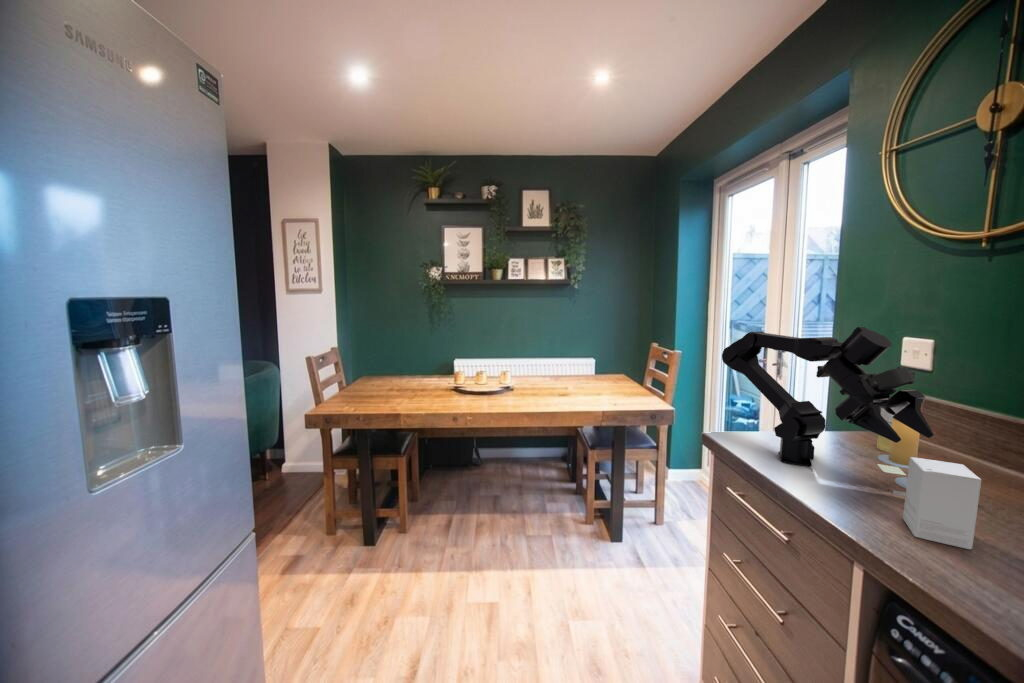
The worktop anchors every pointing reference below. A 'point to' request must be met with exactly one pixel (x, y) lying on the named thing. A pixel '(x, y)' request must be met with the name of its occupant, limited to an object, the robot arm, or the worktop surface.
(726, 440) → the worktop surface
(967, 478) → the supplement box
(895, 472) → the white board
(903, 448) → the amber tube
